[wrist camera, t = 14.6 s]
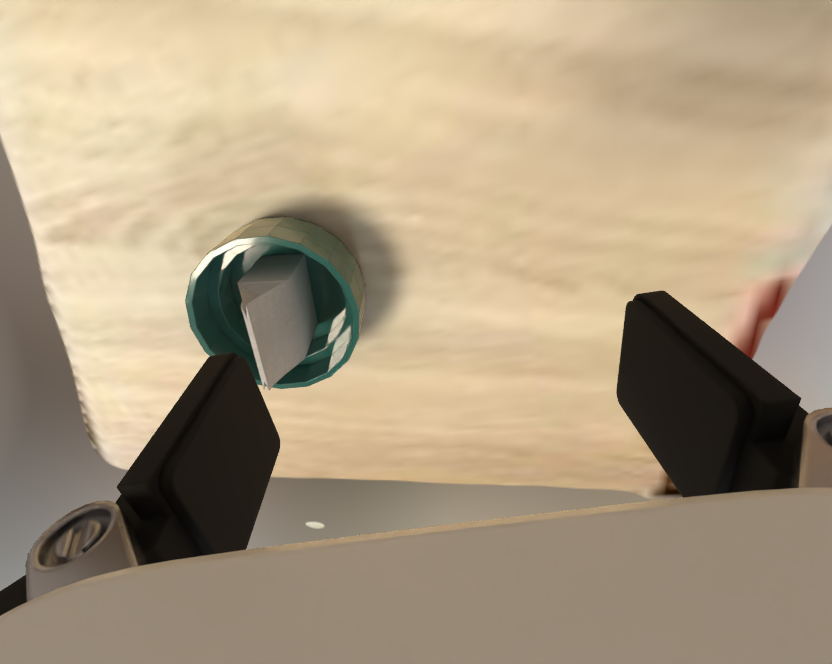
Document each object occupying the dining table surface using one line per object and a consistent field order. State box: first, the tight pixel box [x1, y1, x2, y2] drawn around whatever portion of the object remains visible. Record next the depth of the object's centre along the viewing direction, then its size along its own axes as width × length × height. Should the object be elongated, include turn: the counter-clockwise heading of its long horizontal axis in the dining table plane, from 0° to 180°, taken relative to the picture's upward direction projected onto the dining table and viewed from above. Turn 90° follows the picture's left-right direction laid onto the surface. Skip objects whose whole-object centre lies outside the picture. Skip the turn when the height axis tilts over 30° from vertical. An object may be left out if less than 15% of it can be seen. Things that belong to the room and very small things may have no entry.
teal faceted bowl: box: [185, 217, 365, 389], centre depth 35 cm, size 13×13×6 cm
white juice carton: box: [238, 253, 318, 390], centre depth 33 cm, size 4×7×10 cm, turn 3°
